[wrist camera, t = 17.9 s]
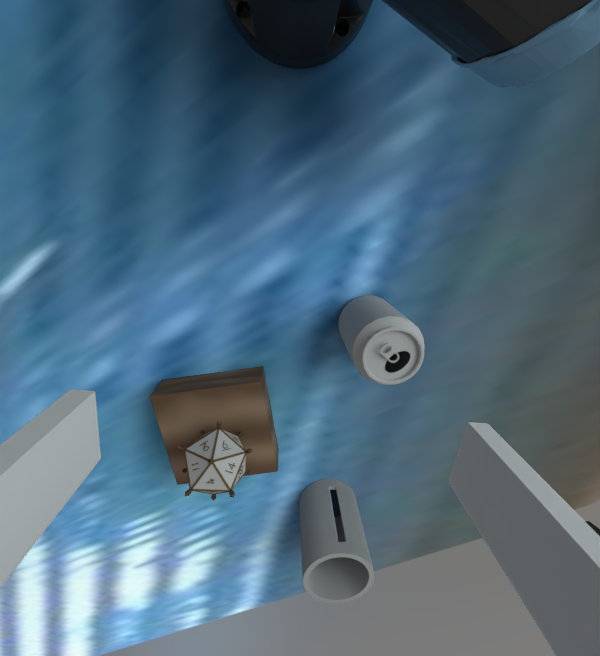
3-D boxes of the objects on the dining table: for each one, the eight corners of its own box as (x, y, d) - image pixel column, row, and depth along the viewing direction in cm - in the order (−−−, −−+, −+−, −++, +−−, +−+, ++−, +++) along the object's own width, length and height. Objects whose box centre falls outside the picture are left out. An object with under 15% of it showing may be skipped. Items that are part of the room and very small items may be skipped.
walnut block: (164, 377, 45) (149, 396, 40) (263, 364, 45) (260, 381, 40) (187, 459, 49) (177, 484, 44) (278, 447, 49) (277, 471, 44)
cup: (310, 528, 54) (317, 610, 43) (291, 489, 51) (292, 566, 40) (361, 512, 53) (382, 591, 42) (344, 471, 50) (362, 544, 39)
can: (360, 357, 44) (385, 405, 33) (325, 319, 42) (340, 355, 31) (404, 323, 43) (446, 360, 32) (370, 281, 41) (402, 305, 30)
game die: (175, 409, 37) (207, 484, 31) (240, 399, 42) (278, 460, 36) (160, 461, 40) (186, 537, 34) (221, 445, 46) (253, 508, 40)
